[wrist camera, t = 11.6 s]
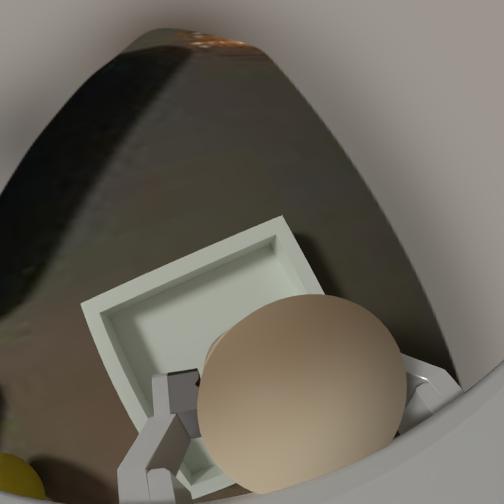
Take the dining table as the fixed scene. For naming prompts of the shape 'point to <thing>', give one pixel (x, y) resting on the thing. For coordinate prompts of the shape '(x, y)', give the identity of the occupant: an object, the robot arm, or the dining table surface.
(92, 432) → the dining table surface
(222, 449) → the dowel
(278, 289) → the tray
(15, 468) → the lemon
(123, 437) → the dining table surface
